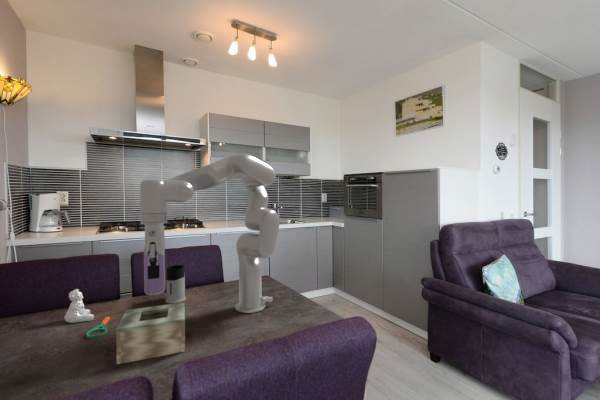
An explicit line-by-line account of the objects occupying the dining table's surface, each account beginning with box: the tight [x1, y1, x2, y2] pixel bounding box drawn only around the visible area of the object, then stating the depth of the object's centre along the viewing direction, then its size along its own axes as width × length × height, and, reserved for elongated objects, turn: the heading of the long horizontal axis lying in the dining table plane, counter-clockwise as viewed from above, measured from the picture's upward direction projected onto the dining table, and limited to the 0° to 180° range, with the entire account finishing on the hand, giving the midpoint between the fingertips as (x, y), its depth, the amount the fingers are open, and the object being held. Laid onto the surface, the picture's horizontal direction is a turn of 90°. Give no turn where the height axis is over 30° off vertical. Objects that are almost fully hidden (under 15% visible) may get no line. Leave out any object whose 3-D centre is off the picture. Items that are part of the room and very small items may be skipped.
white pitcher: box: [161, 264, 187, 304], centre depth 131 cm, size 9×14×15 cm, turn 148°
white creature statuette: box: [63, 288, 95, 324], centre depth 112 cm, size 10×9×12 cm
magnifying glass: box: [85, 316, 111, 340], centre depth 104 cm, size 15×6×2 cm, turn 19°
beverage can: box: [143, 244, 166, 296], centre depth 92 cm, size 6×6×15 cm
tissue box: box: [115, 301, 186, 365], centre depth 92 cm, size 18×15×10 cm
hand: (154, 275), depth 92 cm, fingers closed on beverage can, 5 cm apart
